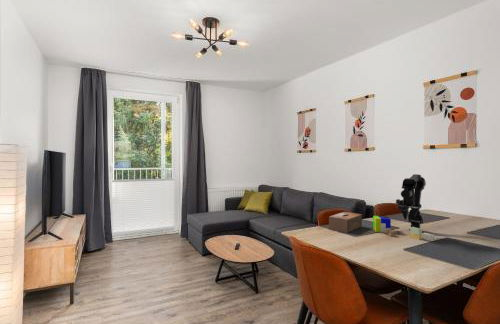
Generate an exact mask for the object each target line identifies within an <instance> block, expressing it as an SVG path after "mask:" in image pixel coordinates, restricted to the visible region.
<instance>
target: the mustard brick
mask: <svg viewBox="0 0 500 324" xmlns="http://www.w3.org/2000/svg"><path fill="white" fill-rule="evenodd" d="M409 238H411V239H414V240H418V241H419V240H422V239H423V233H422V234H420V235H418V234H414V233H410V232H409Z"/></svg>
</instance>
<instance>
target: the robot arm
mask: <svg viewBox="0 0 500 324" xmlns="http://www.w3.org/2000/svg"><path fill="white" fill-rule="evenodd" d="M426 185H427V184H426V180H425V178H424V177H422V175H421V174H416V173H414V174H412V176H410V177H405V178H404V179H403V180H402V184H401V189H402V191H400V196H401V197H402V199H400V198H399V199H396V200H395V204H397V208H396V209H397V210H399V211H400V212H401V214H402V215H403V219H404V220H407V218H408V223H410V227H416V228H420V229H421V224H424V219H423V216H422V212H421V211H420V210H421V209H422V204H421V199H422V191H423V190H424V189H425V186H426ZM408 231H410V228H409V229H408Z"/></svg>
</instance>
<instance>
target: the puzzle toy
mask: <svg viewBox="0 0 500 324" xmlns="http://www.w3.org/2000/svg"><path fill="white" fill-rule="evenodd" d="M391 220H392V219H391V218H390V217H389V216H387V215H385V216H384V215H373V216H372V229H373V231H374V230H375V231H374V232H375V233H384V234H385V229H390V230H392V229H391V225H392V223H391V222H392V221H391Z"/></svg>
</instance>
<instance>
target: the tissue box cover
mask: <svg viewBox="0 0 500 324" xmlns="http://www.w3.org/2000/svg"><path fill="white" fill-rule="evenodd" d="M362 225H363V214H361V213H356V212H351V211H349V212H348V211H343V212H339V213H335V214H333V215H330V216H328V230H330V231H331V230H332V231H336V232H341V233H346V234H347V233H350V232H352V231H354V229H355V230H357V229H359V227H360V228H362V227H363V226H362Z"/></svg>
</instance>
